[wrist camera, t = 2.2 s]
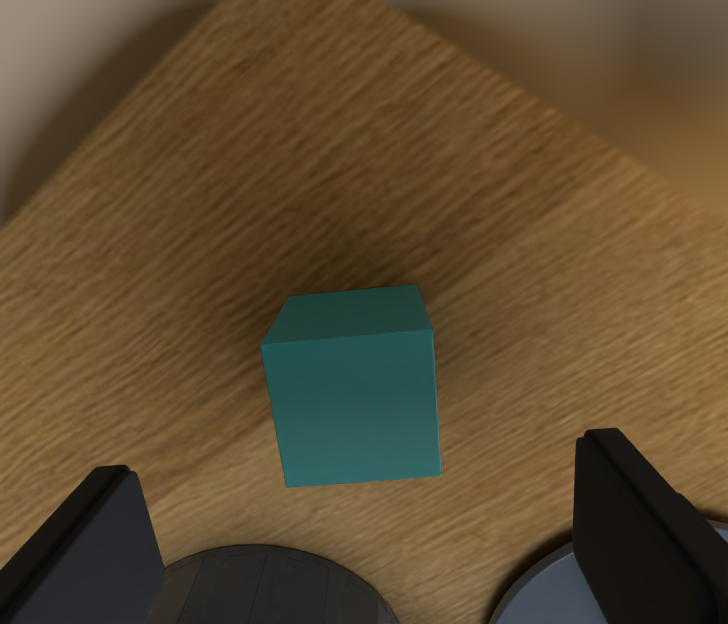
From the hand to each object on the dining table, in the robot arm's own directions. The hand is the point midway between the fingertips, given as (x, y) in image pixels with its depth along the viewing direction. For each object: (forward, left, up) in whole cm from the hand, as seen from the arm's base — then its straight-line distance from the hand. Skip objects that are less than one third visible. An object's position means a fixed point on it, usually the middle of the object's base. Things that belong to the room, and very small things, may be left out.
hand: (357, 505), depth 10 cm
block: (0, 0, -8) cm, 8 cm away
